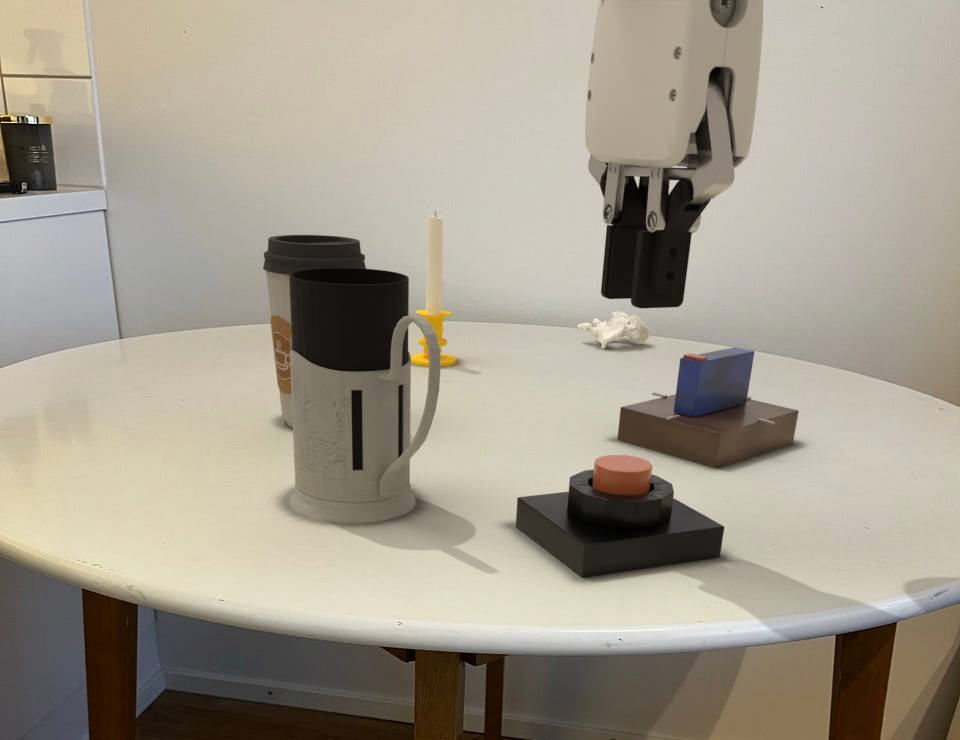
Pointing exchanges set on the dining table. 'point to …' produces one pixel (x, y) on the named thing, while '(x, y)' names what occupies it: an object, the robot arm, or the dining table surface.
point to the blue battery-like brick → (713, 381)
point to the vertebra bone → (617, 329)
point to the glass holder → (354, 393)
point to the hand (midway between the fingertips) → (641, 299)
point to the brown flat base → (707, 430)
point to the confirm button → (622, 475)
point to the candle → (434, 294)
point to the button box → (617, 528)
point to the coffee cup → (278, 264)
